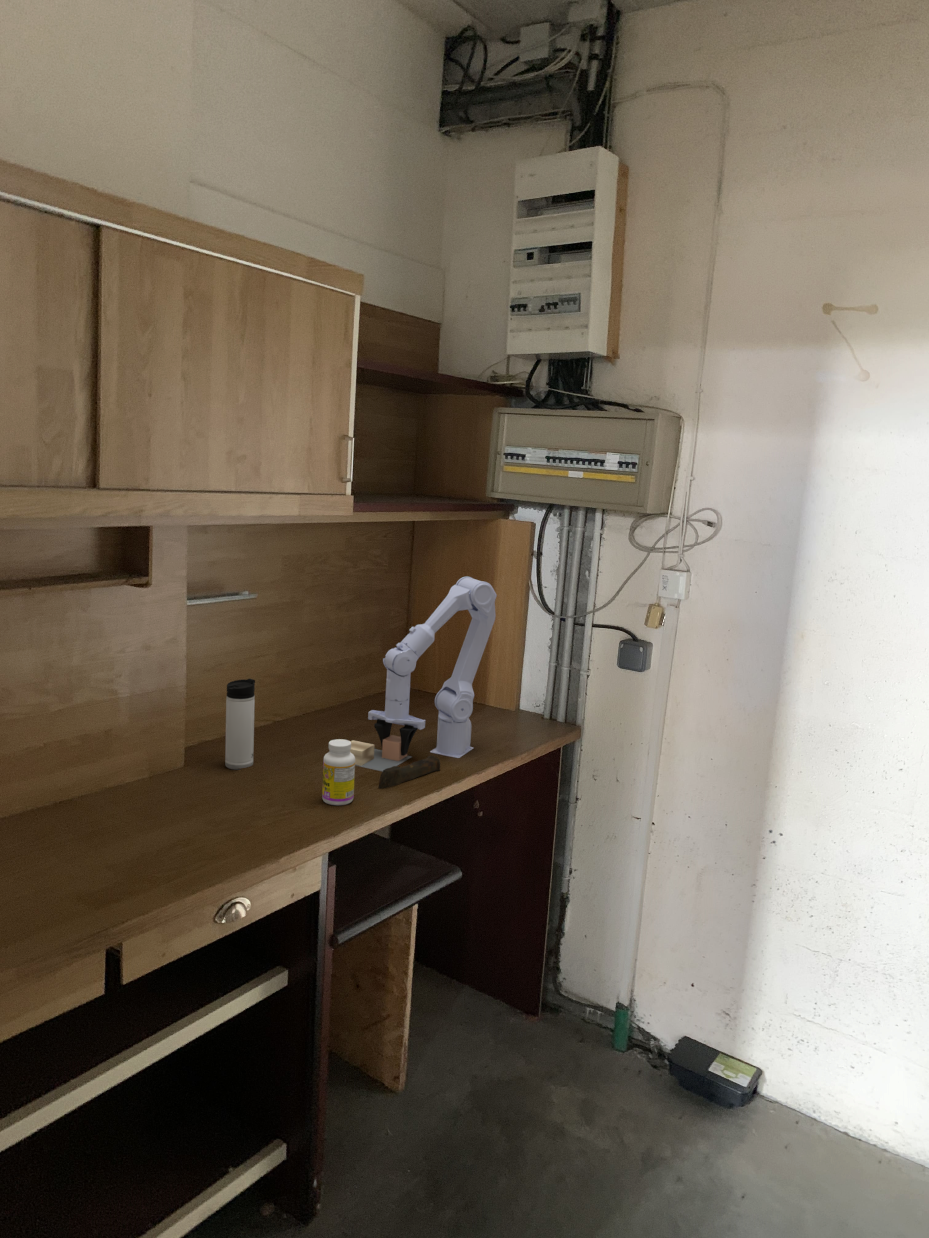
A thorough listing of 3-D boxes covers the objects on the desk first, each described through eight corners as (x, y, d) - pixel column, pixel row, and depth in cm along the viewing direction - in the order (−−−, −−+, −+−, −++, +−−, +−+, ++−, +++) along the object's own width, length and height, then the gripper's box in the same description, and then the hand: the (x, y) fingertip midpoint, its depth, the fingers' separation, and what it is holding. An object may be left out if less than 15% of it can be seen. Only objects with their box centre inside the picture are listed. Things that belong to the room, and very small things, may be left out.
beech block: (352, 753, 221) (352, 740, 221) (373, 758, 219) (374, 744, 219) (339, 760, 216) (339, 746, 215) (361, 765, 214) (361, 751, 213)
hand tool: (428, 769, 217) (429, 750, 216) (440, 773, 214) (441, 754, 213) (370, 788, 202) (370, 768, 201) (382, 793, 200) (383, 773, 199)
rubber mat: (362, 748, 228) (362, 746, 228) (412, 758, 222) (412, 756, 222) (334, 762, 216) (334, 760, 216) (386, 774, 211) (386, 772, 211)
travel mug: (260, 765, 211) (261, 681, 208) (236, 772, 206) (237, 686, 202) (243, 758, 215) (244, 676, 211) (219, 764, 210) (220, 680, 206)
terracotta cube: (390, 752, 224) (391, 734, 223) (407, 755, 223) (408, 738, 222) (381, 757, 220) (382, 739, 219) (398, 761, 218) (399, 743, 218)
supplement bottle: (320, 795, 196) (322, 737, 193) (351, 793, 197) (353, 737, 195) (323, 807, 189) (325, 748, 187) (355, 805, 191) (358, 747, 189)
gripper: (362, 696, 218) (360, 751, 220) (416, 707, 212) (413, 762, 215) (377, 690, 224) (374, 743, 227) (430, 700, 219) (427, 754, 221)
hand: (394, 752), depth 221 cm, fingers closed on terracotta cube, 4 cm apart
